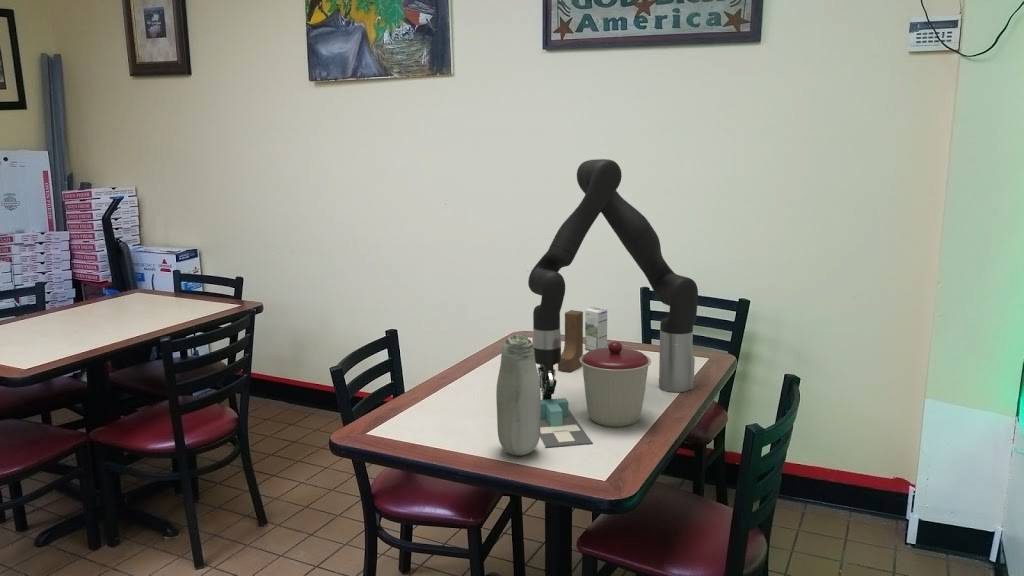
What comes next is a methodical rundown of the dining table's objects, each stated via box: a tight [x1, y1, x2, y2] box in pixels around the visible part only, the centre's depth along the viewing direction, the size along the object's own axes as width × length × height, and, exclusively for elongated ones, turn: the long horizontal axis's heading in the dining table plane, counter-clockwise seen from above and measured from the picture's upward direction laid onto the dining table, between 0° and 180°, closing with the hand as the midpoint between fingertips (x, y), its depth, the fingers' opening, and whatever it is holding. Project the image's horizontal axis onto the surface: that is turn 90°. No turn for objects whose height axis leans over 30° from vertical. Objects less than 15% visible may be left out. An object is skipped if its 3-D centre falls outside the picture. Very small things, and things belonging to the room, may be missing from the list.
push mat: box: [539, 408, 593, 449], centre depth 191 cm, size 12×28×1 cm, turn 10°
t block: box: [540, 397, 569, 427], centre depth 193 cm, size 9×9×4 cm
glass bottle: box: [495, 334, 542, 457], centre depth 172 cm, size 10×10×28 cm
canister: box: [580, 340, 652, 428], centre depth 192 cm, size 18×18×21 cm
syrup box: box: [584, 306, 608, 351], centre depth 258 cm, size 6×6×14 cm
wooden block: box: [557, 309, 584, 373], centre depth 237 cm, size 9×4×18 cm, turn 148°
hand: (546, 406), depth 200 cm, fingers closed
